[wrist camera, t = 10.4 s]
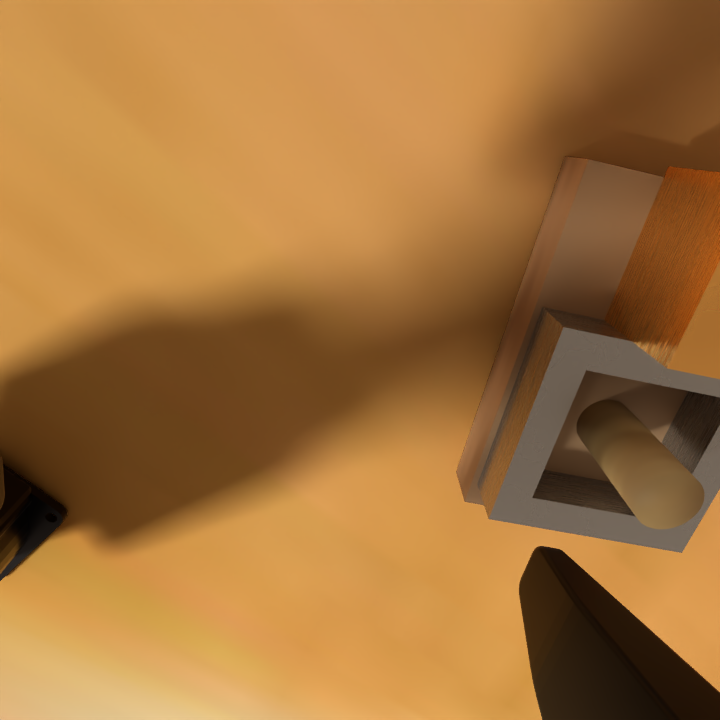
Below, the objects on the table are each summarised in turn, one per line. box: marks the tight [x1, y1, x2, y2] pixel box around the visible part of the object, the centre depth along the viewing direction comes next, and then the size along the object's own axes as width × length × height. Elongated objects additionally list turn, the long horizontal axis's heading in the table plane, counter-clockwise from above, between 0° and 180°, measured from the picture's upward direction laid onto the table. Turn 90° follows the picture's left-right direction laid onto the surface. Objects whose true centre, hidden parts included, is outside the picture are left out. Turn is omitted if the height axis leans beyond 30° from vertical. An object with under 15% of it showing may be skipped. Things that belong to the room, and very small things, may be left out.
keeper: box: [456, 156, 705, 529], centre depth 18 cm, size 13×8×6 cm, turn 168°
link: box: [477, 167, 720, 553], centre depth 17 cm, size 12×7×4 cm, turn 168°
